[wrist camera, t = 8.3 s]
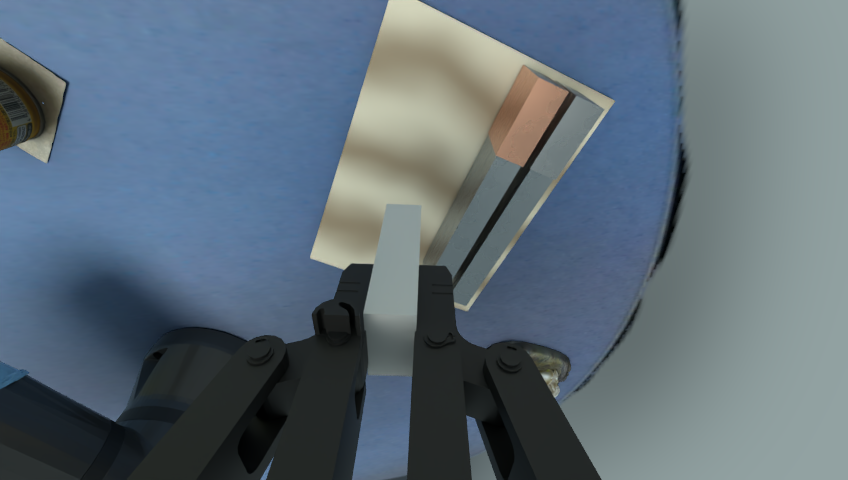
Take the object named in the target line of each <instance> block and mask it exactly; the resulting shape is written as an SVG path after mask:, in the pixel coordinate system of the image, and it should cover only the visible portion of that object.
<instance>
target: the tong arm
mask: <svg viewBox="0 0 848 480" xmlns="http://www.w3.org/2000/svg"><path fill="white" fill-rule="evenodd" d="M568 93H569V92H568V91H567V90H565V89H564V88H563V87H561V86H560V85H559V84H557V83H556V82H555V81H553V80H552V79H551V78H549V77H548V76H546V75H544V74H542V73H539V72H537V71H535V70H533V69H531V68H529V67H527V66H525V65H523V66H522V68H521V70H520V72H519V74H518V76H517V78H516V80H515V81H514V83H513V85H512V87H511V89H510V91H509V93H508V95H507V97H506V99H505V101H504V103H503V105H502V106H501V108H500V110H499V112H498V114H497V116H496V118H495V120H494V122H493V124H492V126H491V128H490V130H489V132H488V136H487V138H486V140H485V142H484V144H483V146H482V148H481V150H480V152H479V153H478V155H477V157H476V159H475V161H474V163H473V165H472V167H471V169H470V171H469V173H468V175H467V176H466V178H465V180H464V182H463V184H462V186H461V188H460V190H459V192H458V194H457V196H456V198H455V199H454V201H453V203H452V205H451V207H450V209H449V211H448V213H447V215H446V217H445V219H444V221H443V222H442V224H441V226H440V228H439V230H438V232H437V234H436V236H435V238H434V240H433V242H432V244H431V245H430V247H429V249H428V251H427V253H426V255H425V257H424V259H423V265H435V266H446V267H447V269H448V270H449V271H450V273H451V274H452V280H453V278H454V276H455V275H456V273H457V271H458V270H459V268H460V266H461V265H462V263H463V261H464V260H465V258H466V256H467V255H468V253H469V252H470V250H471V248H472V247H473V245H474V243H475V242H476V240H477V238H478V237H479V235H480V233H481V232H482V230H483V228H484V227H485V225H486V223H487V222H488V220H489V219H490V217H491V215H492V214H493V212H494V210H495V209H496V207H497V205H498V204H499V202H500V200H501V199H502V197H503V195H504V194H505V192H506V190H507V189H508V187H509V186H510V184H511V182H512V181H513V179H514V177H515V176H516V174H517V172H518V171H519V169H520V167H521V166H522V167H523V166H524V165H525V163H526V161H527V160H528V158H529V156H530V155H531V153H532V152H533V150H534V148H535V147H536V145H537V143H538V142H539V140H540V138H541V137H542V135H543V134H544V132H545V130H546V129H547V127H548V125H549V124H550V122H551V120H552V119H553V117H554V116H555V114H556V112H557V111H558V109H559V107H560V106H561V104H562V102H563V101H564V99H565V97H566V96H567V94H568Z"/></svg>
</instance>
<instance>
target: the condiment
mask: <svg viewBox="0 0 848 480" xmlns="http://www.w3.org/2000/svg"><path fill="white" fill-rule="evenodd" d="M65 86H66V83H65V82H64V81H62V80H61V79H59V78H58V77H56V76H55V75H54V74H53V73H52V72H50V71H48V70H47V69H45V68H44V67H43V66H41V65H40V64H38V63H36V62H35V61H33V60H32V59H31V58H29V57H28V56H26V55H25V54H23V53H22V52H20V51H19V50H17V49H15V48H14V47H12V46H11V45H9V44H8V43H6V42H5V41H4V40H3V39H1V38H0V151H1V150H4V149H7V148H9V147H12V146H15V145H16V146H18V147H20V148H21V149H23V150H24V151H26V152H27V153H29V154H31V155H32V156H34V157H36V158H38V159H39V160H41V161H43V162H45V163H47V161H48V157H49V154H50V151H51V147H52V143H53V140H54V136H55V132H56V126H57V118H58V116H59V113H60V108H61V105H62V101H63V93H64V90H65ZM42 102H44V104H42Z"/></svg>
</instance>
